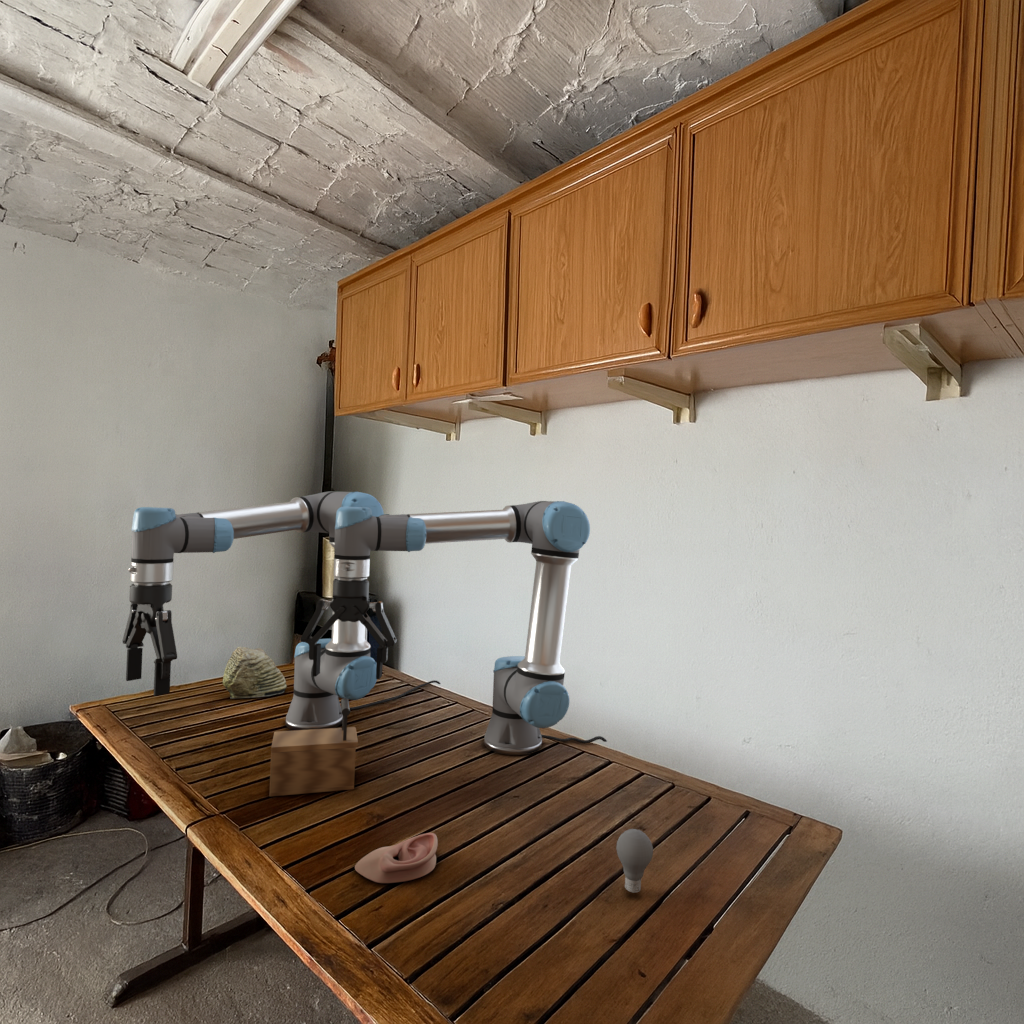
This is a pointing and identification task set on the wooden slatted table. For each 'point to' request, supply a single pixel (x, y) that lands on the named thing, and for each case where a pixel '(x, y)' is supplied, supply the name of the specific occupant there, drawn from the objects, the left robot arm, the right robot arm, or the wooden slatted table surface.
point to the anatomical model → (400, 860)
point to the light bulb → (634, 857)
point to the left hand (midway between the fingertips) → (147, 686)
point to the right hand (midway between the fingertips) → (347, 676)
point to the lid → (317, 737)
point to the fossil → (252, 674)
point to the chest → (312, 771)
